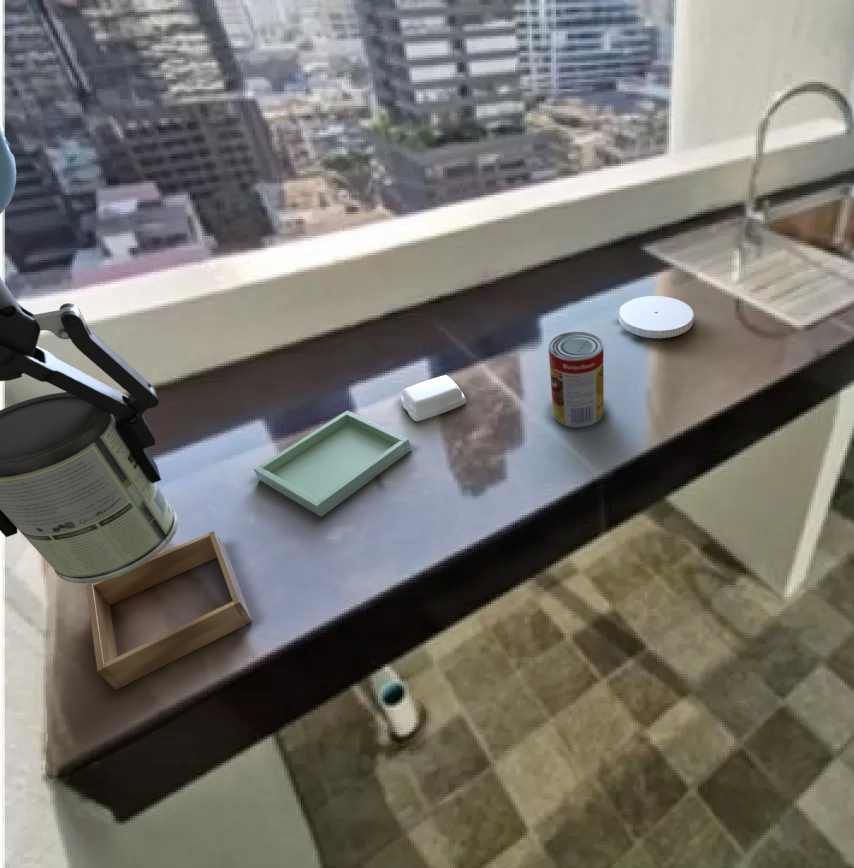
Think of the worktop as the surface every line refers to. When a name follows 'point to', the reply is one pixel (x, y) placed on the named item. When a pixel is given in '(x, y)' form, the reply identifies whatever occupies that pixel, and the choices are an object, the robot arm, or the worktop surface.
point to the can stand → (177, 640)
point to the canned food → (577, 378)
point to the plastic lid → (656, 316)
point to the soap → (432, 398)
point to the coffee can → (79, 489)
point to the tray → (333, 462)
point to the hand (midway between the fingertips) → (86, 498)
